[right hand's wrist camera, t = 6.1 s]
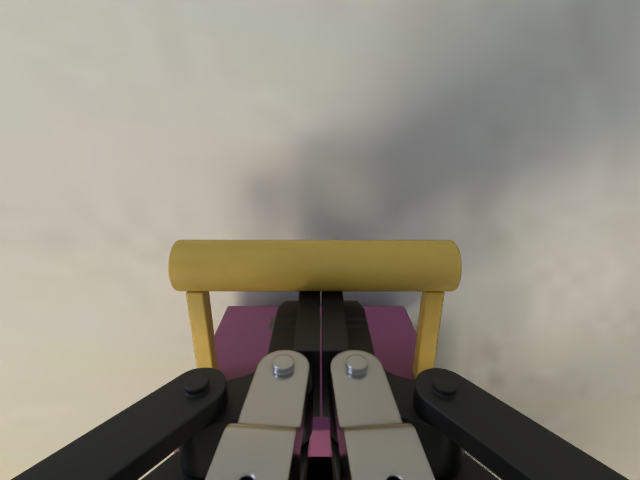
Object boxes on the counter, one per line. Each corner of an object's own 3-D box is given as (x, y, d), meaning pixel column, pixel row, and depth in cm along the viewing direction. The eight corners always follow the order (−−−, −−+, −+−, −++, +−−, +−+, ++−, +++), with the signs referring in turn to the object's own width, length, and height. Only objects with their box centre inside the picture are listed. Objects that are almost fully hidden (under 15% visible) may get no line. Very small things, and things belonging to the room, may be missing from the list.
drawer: (217, 202, 16) (137, 272, 9) (414, 202, 16) (491, 273, 9) (247, 506, 23) (217, 677, 16) (384, 505, 23) (413, 676, 16)
